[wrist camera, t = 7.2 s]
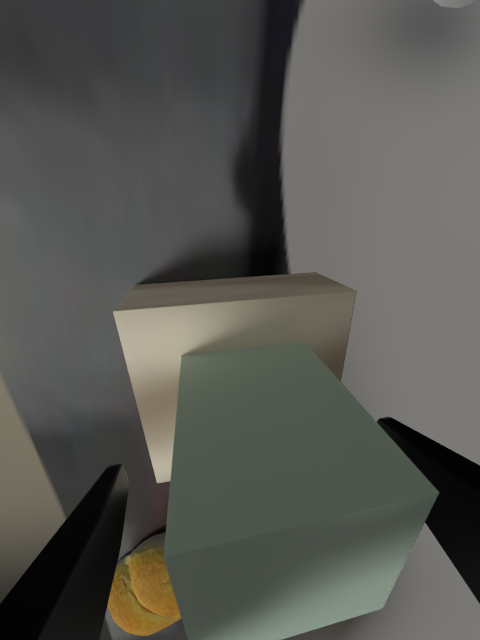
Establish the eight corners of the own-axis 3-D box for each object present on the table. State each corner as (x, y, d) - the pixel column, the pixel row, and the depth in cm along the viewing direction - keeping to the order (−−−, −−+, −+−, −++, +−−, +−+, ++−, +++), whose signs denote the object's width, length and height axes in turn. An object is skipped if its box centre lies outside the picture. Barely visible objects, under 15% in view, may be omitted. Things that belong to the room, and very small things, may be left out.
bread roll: (94, 575, 20) (72, 654, 16) (163, 514, 18) (155, 587, 15) (174, 590, 23) (171, 659, 20) (238, 539, 22) (247, 604, 18)
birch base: (302, 404, 16) (328, 450, 13) (165, 426, 15) (157, 483, 12) (315, 272, 13) (356, 290, 9) (135, 284, 11) (113, 311, 8)
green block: (296, 429, 12) (382, 607, 6) (194, 447, 11) (195, 666, 6) (304, 341, 10) (439, 492, 4) (181, 355, 9) (163, 557, 4)
